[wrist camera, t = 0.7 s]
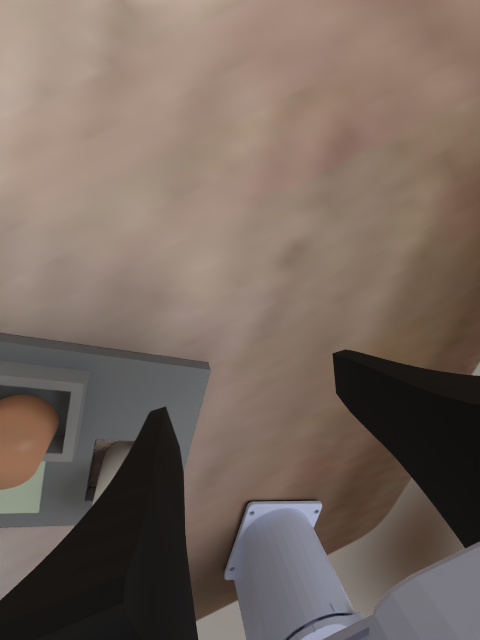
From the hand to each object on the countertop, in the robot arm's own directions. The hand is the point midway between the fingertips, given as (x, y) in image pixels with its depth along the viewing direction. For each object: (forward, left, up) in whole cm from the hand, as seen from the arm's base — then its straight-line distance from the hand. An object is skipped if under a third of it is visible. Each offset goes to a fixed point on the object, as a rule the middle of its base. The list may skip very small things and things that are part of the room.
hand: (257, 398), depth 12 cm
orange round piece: (-7, +10, -7) cm, 14 cm away
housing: (-10, +8, -10) cm, 16 cm away
